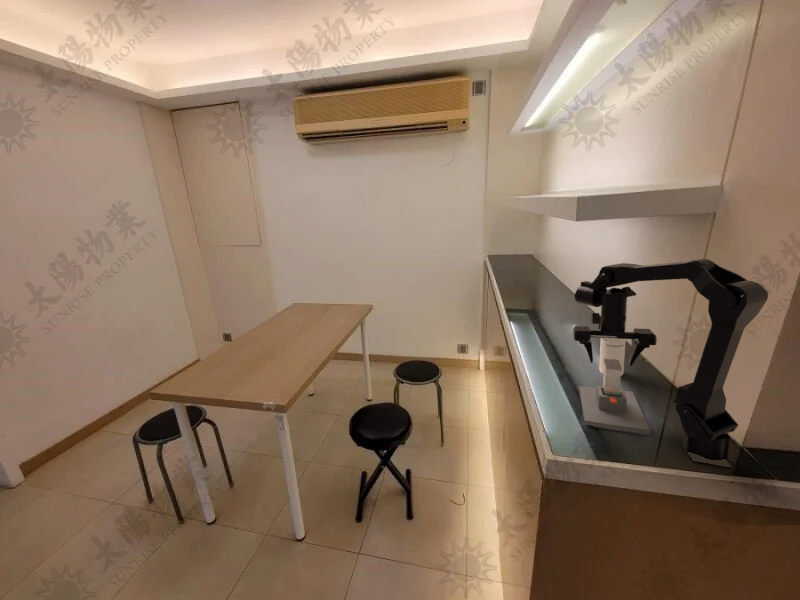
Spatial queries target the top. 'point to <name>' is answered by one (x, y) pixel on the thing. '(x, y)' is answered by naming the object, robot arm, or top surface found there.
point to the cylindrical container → (612, 350)
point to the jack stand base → (612, 411)
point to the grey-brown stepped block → (611, 377)
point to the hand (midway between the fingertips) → (610, 363)
